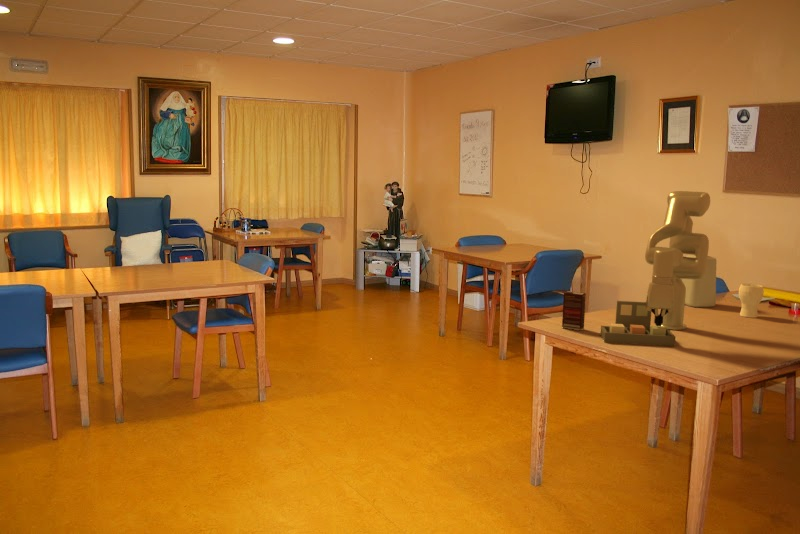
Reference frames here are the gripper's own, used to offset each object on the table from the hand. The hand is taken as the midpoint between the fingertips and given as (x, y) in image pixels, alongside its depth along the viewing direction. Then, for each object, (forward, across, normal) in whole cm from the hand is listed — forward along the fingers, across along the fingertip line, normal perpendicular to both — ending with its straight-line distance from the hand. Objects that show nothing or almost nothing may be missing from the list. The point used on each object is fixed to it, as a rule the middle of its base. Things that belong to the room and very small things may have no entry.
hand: (658, 325), depth 281 cm
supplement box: (+7, +32, -15) cm, 36 cm away
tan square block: (+4, +16, 0) cm, 16 cm away
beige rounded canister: (+6, -37, -85) cm, 93 cm away
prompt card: (+7, +8, -11) cm, 15 cm away
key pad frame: (+7, +8, 0) cm, 10 cm away
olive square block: (+4, 0, 0) cm, 4 cm away
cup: (+6, -55, -62) cm, 83 cm away
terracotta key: (+4, +8, 0) cm, 9 cm away
